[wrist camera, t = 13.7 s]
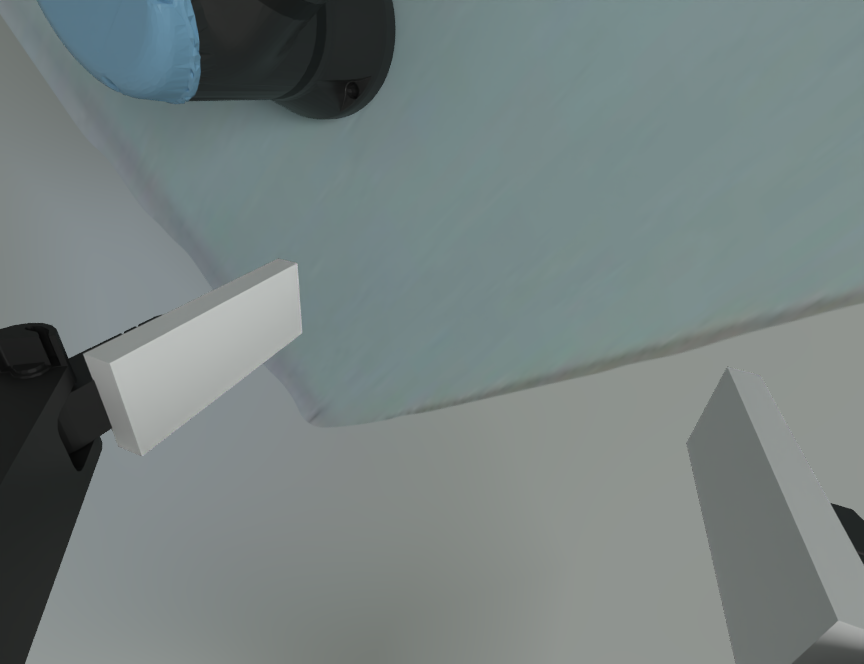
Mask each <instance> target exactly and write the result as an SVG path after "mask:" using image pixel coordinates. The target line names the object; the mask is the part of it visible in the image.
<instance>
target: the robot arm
mask: <svg viewBox="0 0 864 664" xmlns="http://www.w3.org/2000/svg"><path fill="white" fill-rule="evenodd" d="M37 2H38V4H39V6H40V8H41V10H42V11H43V13H44V15H45V17H46V19H47V20H48V22H49V23H50V25H51V26H52V28H53V29H54V31H55V33H56V34H57V36H58V37H59V38H60V40H61V41H62V43H63V44H64V45H65V47H66V48H67V49H68V50H69V52H70V53H71V54H72V55H73V56H74V58H75V59H76V60H77V61H78V62H79V63H80V64H81V65H82V66H83V67H84V68H85V69H86V70H87V71H88V72H89V73H90V74H92V75H93V76H94V77H95V78H96V79H98V80H99V81H100V82H102V83H103V84H105V85H106V86H108V87H109V88H111V89H113V90H115V91H117V92H121V93H122V94H124V95H128V96H131V97H134V98H138V99H148V100H157V101H166V102H168V103H171V104H181V103H185V101H186V102H188V101H221V100H272V101H274V102H276V103H278V104H280V105H281V106H283V107H285V108H287V109H289V110H291V111H292V112H294V113H297V114H299V115H301V116H305V117H308V118H313V119H335V118H342V117H346V116H349V115H351V114H354V113H355V112H357V111H359V110H360V109H362V108H363V107H364V106H366V105H367V104H368V103H369V102H370V101H371V100H372V99H373V98H374V96H375V95H376V94H377V92H378V91H379V89H380V88H381V86H382V84H383V82H384V80H385V78H386V76H387V73H388V71H389V68H390V65H391V61H392V57H393V51H394V44H395V15H394V8H393V2H392V0H37ZM300 334H302V322H301V308H300V294H299V280H298V266H297V263H295V262H291V261H287V260H282V259H276V260H274V261H272V262H270V263H268V264H266V265H264V266H262V267H260V268H258V269H256V270H254V271H251V272H249V273H247V274H245V275H243V276H241V277H239V278H237V279H235V280H233V281H231V282H229V283H227V284H225V285H223V286H221V287H219V288H217V289H215V290H213V291H211V292H209V293H207V294H205V295H203V296H200V297H198V298H197V299H194V300H192V301H190V302H188V303H186V304H184V305H182V306H180V307H178V308H176V309H174V310H172V311H170V312H168V313H166V314H163V315H159V316H156V317H153V318H152V319H149V320H147V321H145V322H143V323H141V324H139V325H138V327H133V328H131V329H129V330H127V331H125V332H124V334H118V335H117V336H114V337H112V338H110V339H108V340H106V341H104V342H102V343H100V344H98V345H96V346H94V347H92V348H90V349H87V350H85V351H83V352H81V353H79V354H77V355H75V356H73V357H71V358H69V359H68V357H67V354H66V352H65V349H64V347H63V344H62V342H61V340H60V337H59V335H58V332H57V330H56V328H54V327H53V326H52V325H48V324H44V323H27V324H20V325H14V326H10V327H7V328H3V329H0V664H25V662H26V659H27V656H28V653H29V650H30V647H31V645H32V642H33V639H34V636H35V634H36V631H37V628H38V625H39V623H40V620H41V617H42V614H43V612H44V609H45V606H46V603H47V600H48V598H49V595H50V592H51V589H52V587H53V584H54V581H55V578H56V575H57V573H58V570H59V567H60V564H61V562H62V559H63V556H64V553H65V551H66V548H67V545H68V542H69V539H70V536H71V534H72V531H73V528H74V526H75V523H76V519H77V517H78V514H79V511H80V509H81V506H82V503H83V501H84V497H85V495H86V492H87V489H88V487H89V484H90V481H91V478H92V476H93V473H94V470H95V467H96V464H97V462H98V459H99V456H100V453H101V451H102V441H101V438H100V436H101V435H102V434H104V433H105V432H107V431H108V430H110V429H112V431H113V433H114V436H115V439H116V442H117V444H118V446H119V447H121V448H123V449H126V450H128V451H130V452H133V453H135V454H138V455H140V456H143V455H145V454H146V453H147V452H148V451H150V450H151V449H152V448H154V447H155V446H156V445H157V444H159V443H160V442H161V441H163V440H164V439H165V438H167V437H168V436H169V435H170V434H172V433H173V432H174V431H176V430H177V429H178V428H179V427H181V426H182V425H183V424H185V423H186V422H187V421H189V420H190V419H191V418H192V417H194V416H195V415H196V414H198V413H199V412H200V411H202V410H203V409H204V408H206V407H207V406H208V405H209V404H211V403H212V402H213V401H215V400H216V399H217V398H218V397H220V396H221V395H222V394H224V393H225V392H226V391H227V390H229V389H230V388H232V387H233V386H234V385H235V384H237V383H238V382H239V381H241V380H242V379H243V378H245V377H246V376H247V375H248V374H250V373H251V372H252V371H254V370H255V369H256V368H257V367H259V366H260V365H261V364H263V363H264V362H265V361H267V360H268V359H269V358H270V357H272V356H273V355H274V354H276V353H277V352H278V351H280V350H281V349H282V348H283V347H285V346H286V345H287V344H289V343H290V342H291V341H293V340H294V339H295V338H296V337H298V336H299V335H300ZM686 444H687V448H688V452H689V457H690V461H691V466H692V471H693V475H694V479H695V484H696V489H697V493H698V498H699V501H700V506H701V511H702V515H703V520H704V524H705V529H706V533H707V538H708V542H709V547H710V551H711V556H712V560H713V565H714V569H715V574H716V578H717V583H718V587H719V592H720V596H721V600H722V605H723V610H724V614H725V619H726V623H727V627H728V632H729V636H730V641H731V646H732V650H733V655H734V659H735V663H736V664H864V520H863V519H862V518H861V517H859V516H858V515H857V513H856V512H855V511H854V510H852V509H849V508H845V507H842V506H839V505H835V504H832V503H830V502H829V500H828V498H827V496H826V495H825V493H824V491H823V489H822V487H821V485H820V484H819V482H818V480H817V479H816V476H815V474H814V473H813V471H812V469H811V467H810V465H809V463H808V461H807V460H806V458H805V456H804V454H803V452H802V451H801V449H800V447H799V445H798V443H797V441H796V439H795V438H794V436H793V434H792V432H791V430H790V428H789V427H788V425H787V423H786V421H785V419H784V417H783V416H782V414H781V412H780V410H779V408H778V406H777V405H776V403H775V401H774V399H773V397H772V395H771V394H770V392H769V390H768V388H767V386H766V384H765V382H764V381H763V379H762V377H761V375H760V374H756V373H752V372H748V371H744V370H739V369H735V368H731V367H727V368H726V370H725V372H724V374H723V376H722V377H721V379H720V381H719V383H718V385H717V387H716V389H715V391H714V392H713V394H712V396H711V398H710V400H709V402H708V404H707V405H706V407H705V409H704V411H703V413H702V415H701V417H700V419H699V420H698V422H697V424H696V426H695V428H694V430H693V432H692V434H691V435H690V437H689V439H688V441H687V443H686Z"/></svg>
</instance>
